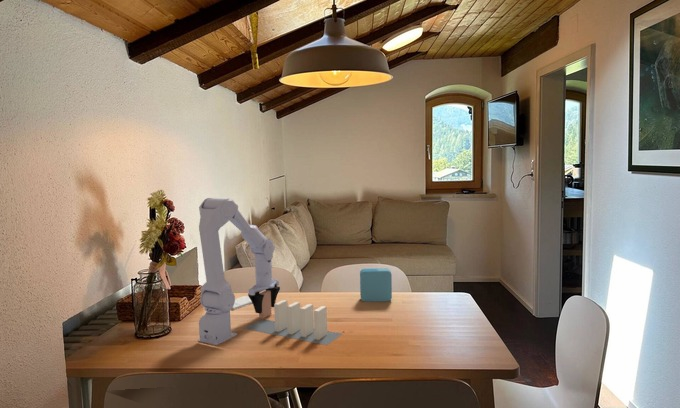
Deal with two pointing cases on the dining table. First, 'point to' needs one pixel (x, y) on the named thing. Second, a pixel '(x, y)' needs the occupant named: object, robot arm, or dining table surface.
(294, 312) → the domino
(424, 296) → the dining table surface
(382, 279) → the blue rounded slab
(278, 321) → the domino
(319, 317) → the domino
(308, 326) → the domino
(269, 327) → the mat
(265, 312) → the domino
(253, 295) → the robot arm
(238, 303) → the external hard drive
